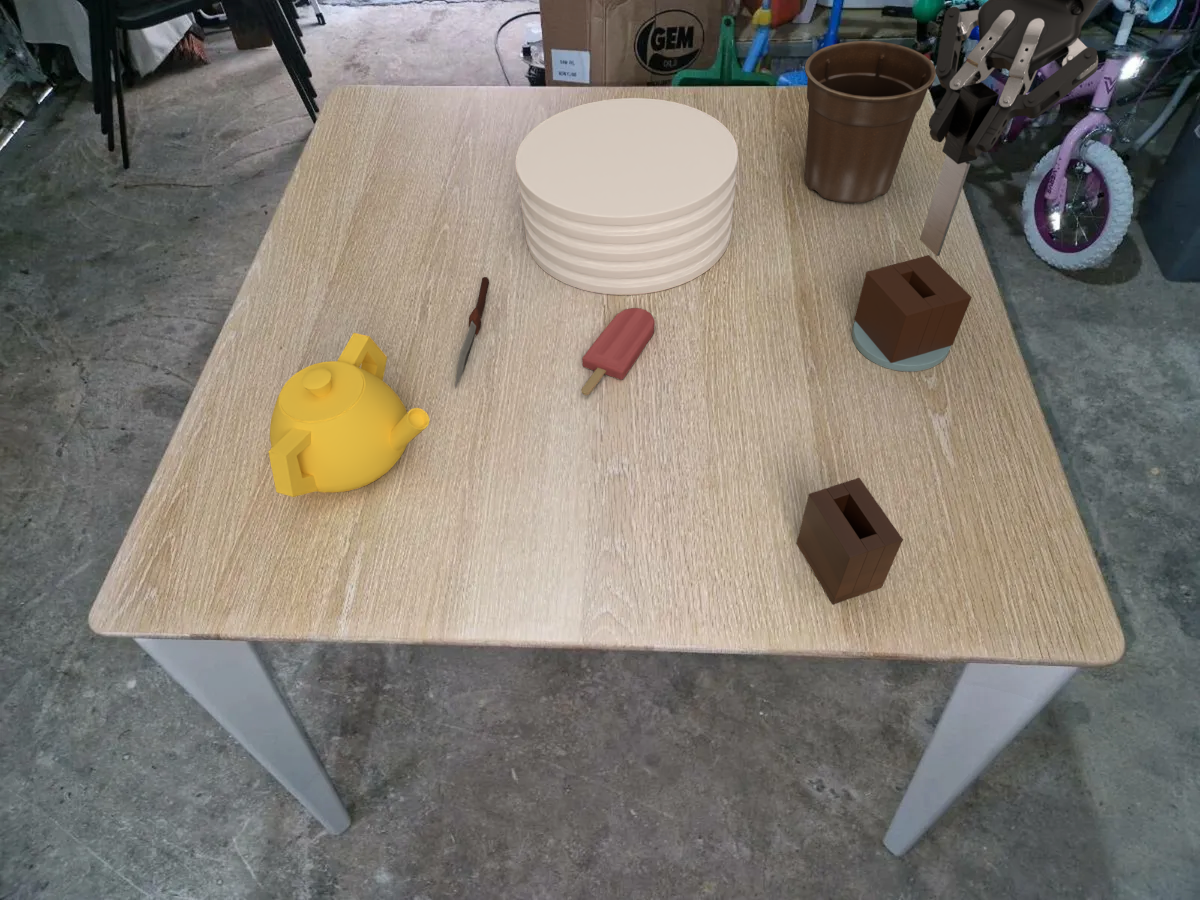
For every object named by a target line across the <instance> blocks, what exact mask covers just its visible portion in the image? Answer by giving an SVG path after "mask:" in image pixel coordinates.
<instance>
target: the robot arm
mask: <svg viewBox="0 0 1200 900" xmlns="http://www.w3.org/2000/svg"><path fill="white" fill-rule="evenodd" d="M1099 1H1100V0H986V1H985V2H984V3H983V4H982V5H981V6H980V8H979V9H973V10H966V11H961V10H960V8H959V7H958V6H951V7H949V8H948V9H947V10H946V11H945V13H944V18H943V23H942V30H941V35H940V41H939V45H938V52H937V58H936V64H935V69H936V70H935V72H936V78H937V80H938V82H939V84H940V87H942V88H943V89H945V93H944V95H943V97H942V98H941V100H940V101H939V103H938V105H937V106H936V108H935V110H934V111H933V113H932V115H931V116H930V118H929V121H928V127H929V136H930V138H931V139H932V141H935V142H937V143H942V142H943V140H944V139H945V137H947V134H948V131H949V128H950V124H951V121H952V118H953V115H954V111H955V108H956V105H957V102H958V98H959V95H960V92H961V88H962V87H963V86H967V85H972V84H976V83H980V82H984V81H985V80H986V79H987V78H988V77H989V76H990V75H991V73H993V71H994V70H995V69H999V70H1000V69H1001V70H1002V69H1003V70H1006V71H1008V76H1007V80H1006V83H1005V85H1004V87H1003V89H1002V92H1001V94H1000V95H999V97H998V102H997V103H996V105H995V106H993V105H992V107H991V108H990V110H989V111H988V113H987V115H986V116H985V118H984V119H983V121H982V123H981V124H980V126H979V127H978V129H977V131H976V132H975V134H974V135H973V137H972V138H971V140H970V142H969V144H968V146H967V149H968V152H969V154H971V155H973V156H976V157H977V158H978V157H980V156H981V154H982V152H984V153H988V152H989V151H990V150H991V149H992V148H993V147H994V145H995V144H996V143H997V141H998V139H999V138H1000V136H1001V135H1002V133H1003V131H1004V130H1005V129H1006V127H1007V126H1008V124H1009V122H1010V121H1011V120H1013V118H1017V117H1027V118H1029V119H1030V120H1031V119H1032V120H1033V119H1037V118H1038V117H1040V116H1041V115H1043V114H1044V113H1045V112H1046V111H1048V110H1049V109H1050V108H1051V107H1053V106H1054V105H1056V104H1057V103H1058V102H1060V100H1062V99H1063V98H1065V97H1067V95H1068V94H1070V93H1071V92H1072V91H1073V90H1074V89H1076V88H1077V87H1079V86H1080V85H1082V84H1083V83H1084V82H1085V81H1086V80H1088V79H1089V78H1091V76H1093V75H1094V74H1096V72H1097V70H1098V69H1099V66H1098V65H1099V57H1098V51H1097V49H1096V48H1095V47H1089V46H1086V45H1085V43H1084V42H1083V41H1082V40H1081V36H1082V28H1083V26H1084V24H1085V23H1086V21H1087V19H1088V18H1089V16H1090V15H1091V13H1092V11H1093V10H1094V9H1095V7H1096V6H1097V4H1098V2H1099ZM976 27H978V38H979V39H978V40H979V42H978V43H977V44H976V45H975V46H974V48H973V49H972V50H971V52H969V54H968V55H967V56H966V60H965V62H964V63H963V65H961V67H960V68H959V70H958V65H959V60H960V59H959V58H960V54H961V53H960V52H961V46H962V41H966V40H967V39H968V38H969V37H970V35H971V33H972V31H973V29H975V28H976ZM1065 55H1066V56H1065ZM1062 56H1065V57H1063V59H1062V62H1061V67H1060V68H1059V69H1058V70H1056V71H1054V72H1053V73H1052V74H1051V75H1050V76H1048V77H1047V78H1046V79H1045V80H1043V81H1042V82H1041V83H1040V84H1039V85H1037V86H1036V87H1035V88H1033V89H1032V90H1031V91H1030V92H1029V90H1030V88H1031V86H1032V84H1033V81H1034V79H1035V77H1036V74H1037V72H1038V70H1041V69H1042V68H1043V67H1045V66H1047V65H1049V64H1051V63H1053V62H1054V61H1056V60H1058V59H1060V58H1061V57H1062ZM957 70H958V71H957Z"/></svg>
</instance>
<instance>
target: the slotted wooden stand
mask: <svg viewBox="0 0 1200 900" xmlns="http://www.w3.org/2000/svg"><path fill="white" fill-rule="evenodd" d="M971 300H972V296H971V294H969V293H968V292H967V291H966V290H965V289H964V288H963V287H962V286H961V285H960V284H959V283H958V282H957V281H956V280H955V279H954V278H953V277H952V276H951V275H950V274H949V273H948V272H947V271H946V270H945V269H944V268H943V267H942V266H940V264H939V263H938V262H937V261H936V260H935V259H934V258H933V257H931V256H930V254H928V255H927V254H926V255H924V256H920V257H916V258H912V259H908V260H905V261H901V262H897V263H893V264H890V265H886V266H883V267H879V268H875V269H872V270H868V271H866V272H865V276H864V280H863V283H862V287H861V291H860V295H859V299H858V301H857V302H858V303H857V306H856V311H855V314H854V318H853V320H854V322H853V326H852V330H851V337H852V338H851V339H852V341H853V344H854V345H855V348H856V349H857V351H858V352H859V353H860V354H861V355H862V356H863V357H865V358H866V359H867V360H869V361H870V362H871V363H873V364H876V365H878V366H880V367H882V368H886V369H888V370H893V371H896V372H897V371H898V372H910V373H911V372H923V371H926V370H929V369H932V368H934V367H936V366H938V365H939V364H941V363H942V362H943V361H944V360H945V359H946V358H947V357H948V355H949V352H950V350H951V347H952V346H953V345H954V343H955V340H956V339H957V336H958V333H959V330H960V328H961V325H962V324H963V323H962V322H963V320H964V318H965V316H966V313H967V310H968V308H969V305H970V303H971Z"/></svg>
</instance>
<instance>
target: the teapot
mask: <svg viewBox="0 0 1200 900" xmlns="http://www.w3.org/2000/svg"><path fill="white" fill-rule="evenodd" d="M387 360H388V356H387V355H386V354H385V352H383V350H382V349H381V348H380V347H379V346H378V344H377V343H376V342H375V341H374V340H373V338H372V337H371V336H370V335H366V334H361V333H357V332H352V335H351V336H350V338H349V340H348V342H347V343H346V345H345V347H344V348H343V350H342V352H341V354H340V355H339V356H338V358H337V360H329V361H322V362H316V363H314V364H310V365H308V366H305V367H304V368H302V369H300V370H298V371H297V372H296V373H294V374H293V375H292V376H291V377H290V378H289V379H288V380H287V381H285V384H284V385H282V388H281V390H280V391H279V393H278V395H277V398H276V400H275V404H274V407H273V410H272V414H271V418H270V423H269V425H270V426H269V441H270V449H269V450H268V451H267V452H268V456H269V462H270V467H271V472H272V477H273V483H274V488H275V492H276V493H277V494H280V495H284V496H288V497H292V498H296V497H300V496H303V495H306V494H311V493H314V492H318V493H331V494H333V493H335V494H336V493H345V492H350V491H354V490H357V489H361V488H363V487H366V486H368V485H370V484H373V483H374V482H375V481H377V480H379V479H381V478H382V477H383V476H384V475H386V474H387V473H388V472H389V471H390V470H391V469H392V468H393V467H394V466H395V465H396V463H397V462H398V461H399V460H400V459H401V457H402V455H403V454H404V453H405V450H406V448H407V447H408V444H409V443H410V442H411V441H412V440H414V439H415V438H416V437H417V436H418V435H420V434H421V433H422V432H423V431H424V430H425V429H427V428H428V426H429V424H430V421H431V420H430V416H429V414H428V413H427V411H425V409H423V408H420V407H413V408H411V409H409V410H407V408H406V406H405V404H404V403H403V401H402V400H401V398H400V397H399V395H398V394H397V393H396V392H395V390H394V389H393V388H392V387H390V385H389V384H387V383H386V382H385V381H384V376H385V372H386V366H387Z"/></svg>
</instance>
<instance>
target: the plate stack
mask: <svg viewBox="0 0 1200 900" xmlns="http://www.w3.org/2000/svg"><path fill="white" fill-rule="evenodd" d="M738 159H739V150H738V144H737V142H736V140H735V138H734V136H733V134H732V133H731V131H730V130H729V128H727V127H726V125H724V124H723V123H722V122H721V121H719V120H718V119H717V118H715V117H714V116H712V115H710V114H708V113H707V112H705V111H703V110H700V109H698V108H696V107H693V106H690V105H687V104H684V103H680V102H676V101H671V100H666V99H665V100H664V99H657V98H646V97H626V98H625V97H623V98H611V99H603V100H596V101H592V102H587V103H584V104H580V105H576V106H573V107H570V108H568V109H565V110H562V111H560V112H557V113H556V114H553V115H552V116H550V117H548V118H546V119H544V120H543V121H541V122H540V123H538V124H537V125H535V126H534V127H533V128H532V129H531V130H530V131H529V132H528V133H527V134H526V135H525V136H524V137H523V139H522V140H521V142H520V144H519V146H518V148H517V151H516V154H515V171H516V176H517V185H518V191H519V197H520V205H521V211H522V218H523V219H522V220H523V226H524V230H525V231H524V232H525V239H526V245H527V250H528V252H529V254H530V256H531V257H532V259H533V260H534V262H535V263H536V264H537V265H538V266H539V267H540V269H541V270H543V271H544V272H545V273H546V274H548V275H549V276H550V277H552V278H554V279H555V280H557V281H558V282H561V283H563V284H565V285H567V286H570V287H573V288H575V289H580V290H582V291H586V292H591V293H596V294H603V295H612V296H613V295H614V296H615V295H616V296H630V295H631V296H632V295H644V294H645V295H646V294H651V293H656V292H662V291H666V290H669V289H673V288H675V287H676V288H677V287H679V286H681V285H683V284H687V283H688V282H691V281H692V280H695V279H697V278H699V277H700V276H702V275H703V274H704V273H706V272H707V271H708V270H710V269H712V267H714V266H715V265H716V264H717V263H718V262H719V260H720V259H721V258H722V257H723V256H724V254H725V252H726V250H727V249H728V246H729V244H730V241H731V236H732V225H733V215H734V203H735V194H736V190H735V188H736V181H737V168H738V162H739V160H738Z"/></svg>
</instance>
